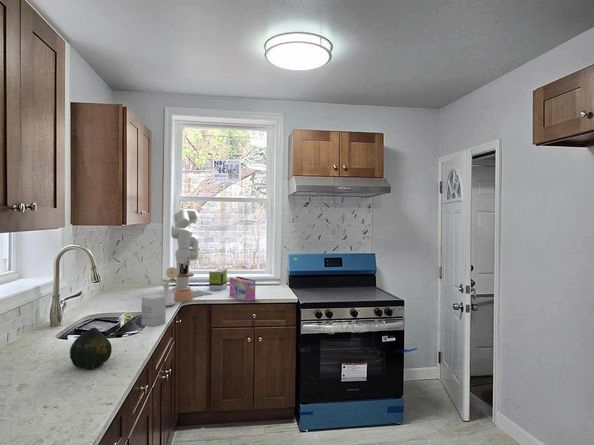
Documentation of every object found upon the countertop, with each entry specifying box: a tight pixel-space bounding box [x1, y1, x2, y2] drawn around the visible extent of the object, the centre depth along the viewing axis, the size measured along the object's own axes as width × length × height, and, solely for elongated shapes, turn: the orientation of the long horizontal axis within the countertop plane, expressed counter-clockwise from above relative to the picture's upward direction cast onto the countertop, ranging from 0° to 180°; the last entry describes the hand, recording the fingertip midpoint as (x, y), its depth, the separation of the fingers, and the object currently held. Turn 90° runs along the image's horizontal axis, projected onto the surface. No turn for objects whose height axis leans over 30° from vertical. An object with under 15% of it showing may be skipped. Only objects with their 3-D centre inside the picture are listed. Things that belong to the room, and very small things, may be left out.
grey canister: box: [141, 294, 166, 328], centre depth 221 cm, size 9×9×15 cm
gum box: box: [229, 276, 256, 302], centre depth 292 cm, size 24×8×14 cm, turn 40°
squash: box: [69, 327, 113, 370], centre depth 161 cm, size 14×15×15 cm
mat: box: [193, 290, 213, 298], centre depth 302 cm, size 17×17×1 cm
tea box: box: [208, 268, 228, 291], centre depth 326 cm, size 15×10×15 cm, turn 172°
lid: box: [177, 266, 195, 278], centre depth 283 cm, size 14×14×6 cm
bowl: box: [173, 288, 194, 302], centre depth 283 cm, size 12×12×6 cm
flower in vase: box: [162, 266, 178, 307], centre depth 264 cm, size 13×11×25 cm
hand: (183, 273), depth 283 cm, fingers closed on lid, 3 cm apart
